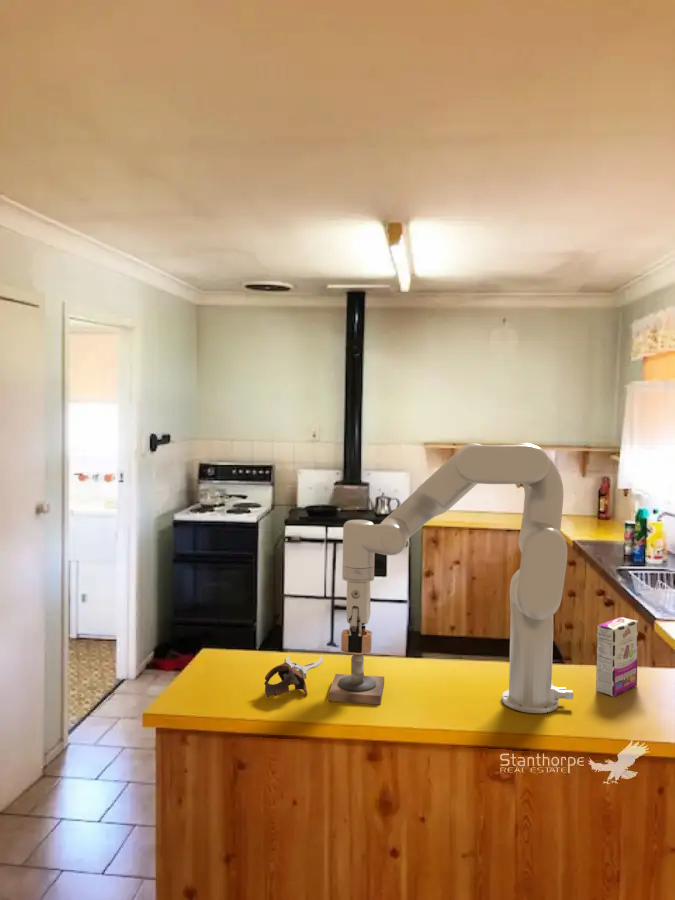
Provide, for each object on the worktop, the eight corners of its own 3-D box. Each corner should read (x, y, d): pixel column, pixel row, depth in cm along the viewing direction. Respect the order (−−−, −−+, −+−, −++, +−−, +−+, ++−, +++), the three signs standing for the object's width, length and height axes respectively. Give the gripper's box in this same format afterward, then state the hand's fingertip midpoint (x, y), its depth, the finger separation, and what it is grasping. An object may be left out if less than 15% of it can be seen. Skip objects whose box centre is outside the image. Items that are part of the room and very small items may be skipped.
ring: (372, 645, 174) (372, 629, 174) (369, 655, 167) (370, 638, 167) (343, 643, 175) (344, 627, 175) (340, 653, 168) (340, 636, 168)
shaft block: (384, 684, 177) (384, 646, 176) (380, 704, 165) (381, 663, 164) (335, 681, 178) (335, 644, 178) (328, 701, 166) (328, 660, 166)
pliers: (323, 653, 195) (318, 673, 180) (323, 659, 195) (318, 679, 180) (286, 652, 196) (279, 672, 181) (286, 658, 196) (279, 678, 181)
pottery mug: (313, 703, 166) (298, 677, 163) (276, 721, 166) (260, 695, 163) (306, 672, 178) (292, 647, 175) (272, 689, 177) (257, 664, 175)
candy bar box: (618, 680, 181) (620, 616, 180) (637, 686, 177) (639, 620, 176) (594, 691, 174) (596, 624, 173) (613, 697, 170) (615, 629, 169)
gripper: (370, 582, 161) (369, 660, 162) (377, 565, 178) (375, 636, 179) (337, 580, 162) (336, 658, 163) (346, 564, 179) (345, 634, 180)
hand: (356, 646), depth 171 cm, fingers closed on ring, 7 cm apart
